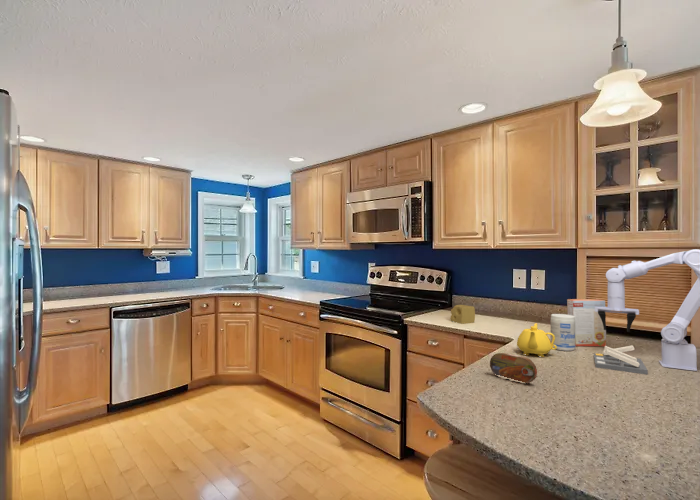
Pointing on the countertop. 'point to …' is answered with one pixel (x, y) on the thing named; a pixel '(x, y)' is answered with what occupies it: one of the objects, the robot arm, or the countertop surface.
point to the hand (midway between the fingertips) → (616, 330)
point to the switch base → (618, 364)
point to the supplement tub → (563, 331)
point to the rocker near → (622, 358)
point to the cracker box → (587, 322)
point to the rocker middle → (620, 353)
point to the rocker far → (623, 349)
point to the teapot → (535, 341)
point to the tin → (513, 367)
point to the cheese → (463, 314)
